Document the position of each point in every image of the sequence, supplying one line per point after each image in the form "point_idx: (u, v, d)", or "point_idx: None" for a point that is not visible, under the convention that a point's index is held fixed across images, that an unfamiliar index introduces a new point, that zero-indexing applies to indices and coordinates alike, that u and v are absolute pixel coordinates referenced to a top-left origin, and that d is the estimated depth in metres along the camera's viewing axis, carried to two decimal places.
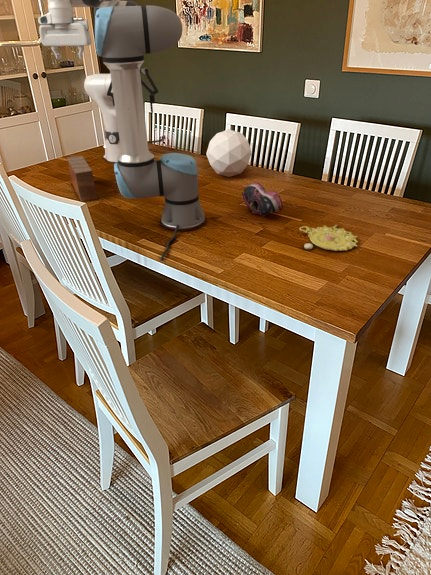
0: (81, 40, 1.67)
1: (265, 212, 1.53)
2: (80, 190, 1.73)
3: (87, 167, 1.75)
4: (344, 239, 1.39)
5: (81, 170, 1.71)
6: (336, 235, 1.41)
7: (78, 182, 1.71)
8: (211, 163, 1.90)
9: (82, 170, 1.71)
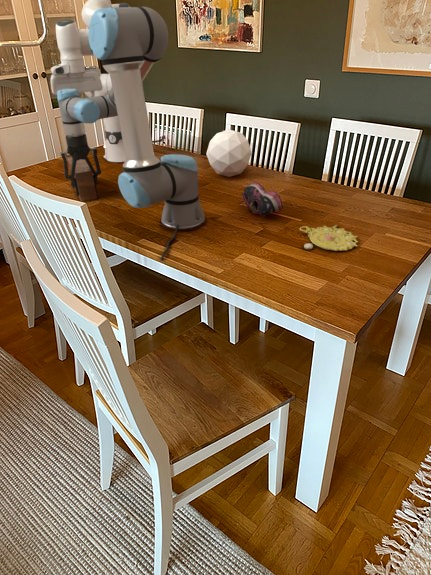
0: (96, 86, 1.82)
1: (265, 212, 1.53)
2: (80, 190, 1.73)
3: (87, 167, 1.74)
4: (344, 239, 1.39)
5: (81, 170, 1.71)
6: (336, 235, 1.41)
7: (78, 182, 1.71)
8: (211, 163, 1.90)
9: (82, 170, 1.71)
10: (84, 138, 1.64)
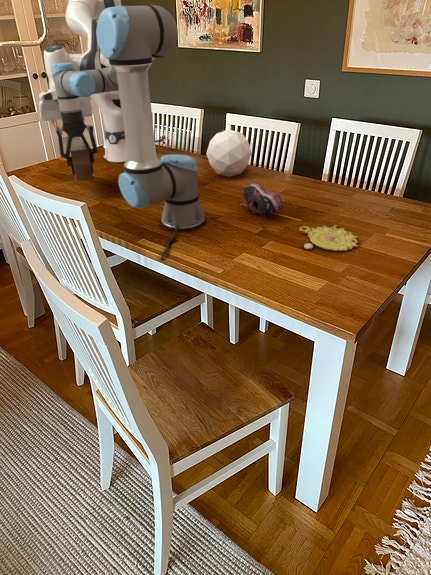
0: (86, 111, 1.77)
1: (265, 212, 1.53)
2: (76, 169, 1.68)
3: (83, 145, 1.70)
4: (344, 239, 1.39)
5: (77, 148, 1.67)
6: (336, 235, 1.41)
7: (74, 160, 1.66)
8: (211, 163, 1.90)
9: (78, 148, 1.67)
10: (80, 114, 1.60)
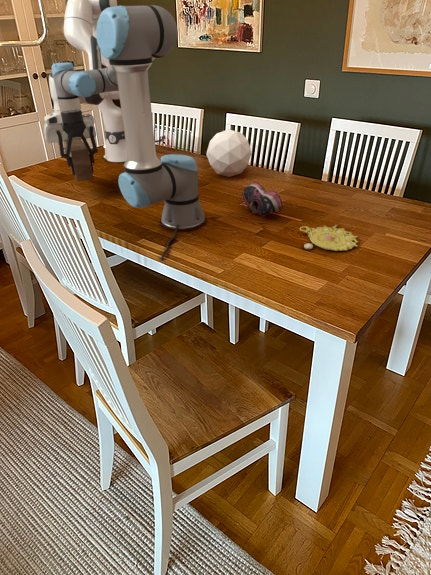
0: None
1: (265, 212, 1.53)
2: (76, 169, 1.68)
3: (83, 146, 1.70)
4: (344, 239, 1.39)
5: (77, 149, 1.67)
6: (336, 235, 1.41)
7: (74, 161, 1.66)
8: (211, 163, 1.90)
9: (78, 148, 1.67)
10: (80, 114, 1.60)
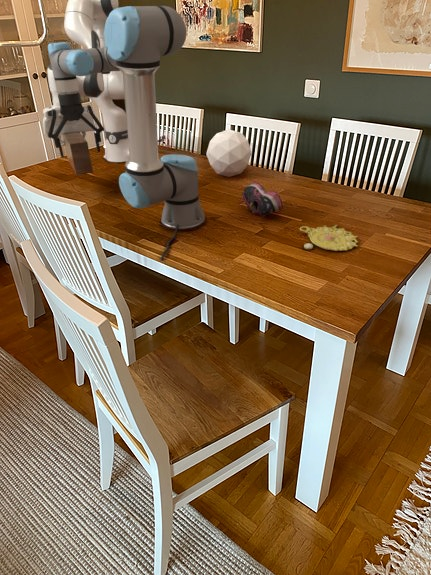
0: (89, 126, 1.80)
1: (265, 212, 1.53)
2: (75, 162, 1.67)
3: (82, 139, 1.69)
4: (344, 239, 1.39)
5: (76, 142, 1.65)
6: (336, 235, 1.41)
7: (73, 154, 1.65)
8: (211, 163, 1.90)
9: (77, 141, 1.66)
10: (77, 96, 1.55)
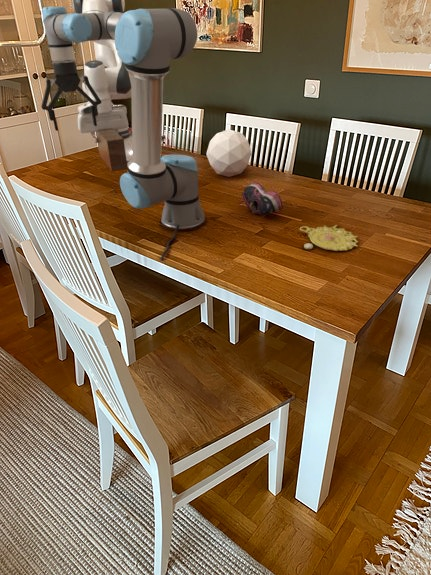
0: (122, 124, 1.83)
1: (265, 212, 1.53)
2: (111, 159, 1.70)
3: (118, 136, 1.71)
4: (344, 239, 1.39)
5: (112, 138, 1.68)
6: (336, 235, 1.41)
7: (109, 150, 1.68)
8: (211, 163, 1.90)
9: (113, 138, 1.68)
10: (73, 65, 1.47)
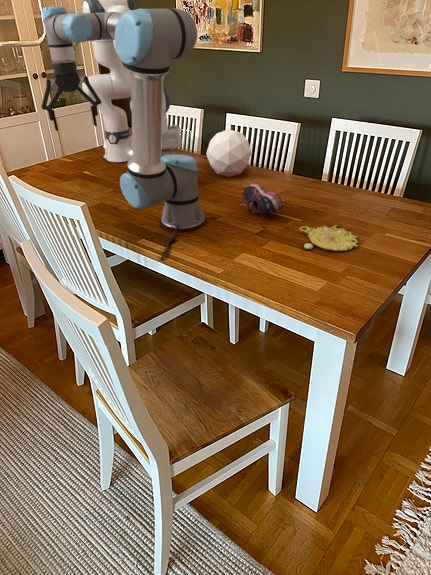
0: (176, 143, 1.93)
1: (265, 212, 1.53)
2: None
3: None
4: (344, 239, 1.39)
5: None
6: (336, 235, 1.41)
7: None
8: (211, 163, 1.90)
9: None
10: (73, 65, 1.47)
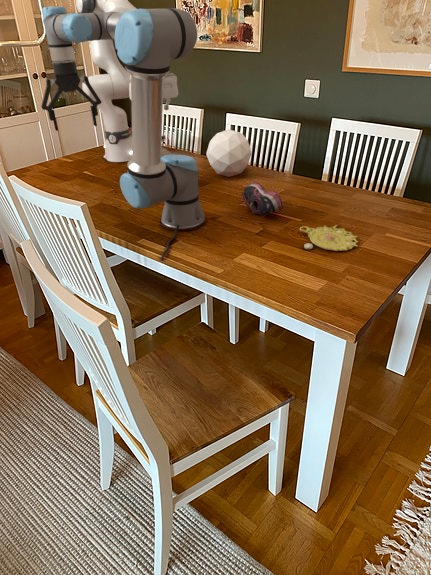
0: (173, 93, 1.82)
1: (265, 212, 1.53)
2: None
3: None
4: (344, 239, 1.39)
5: None
6: (336, 235, 1.41)
7: None
8: (211, 163, 1.90)
9: None
10: (73, 65, 1.47)
